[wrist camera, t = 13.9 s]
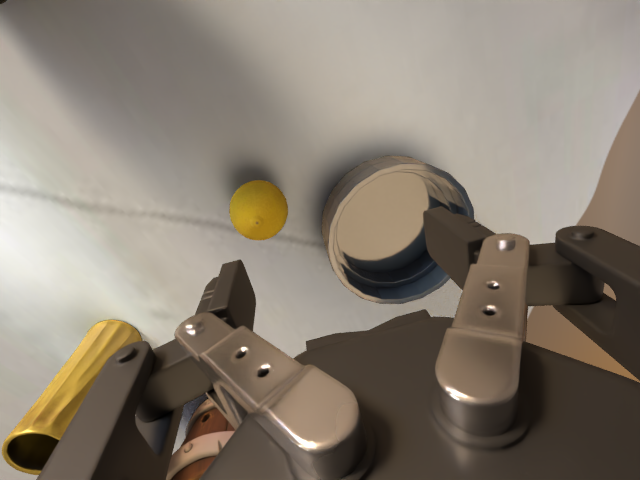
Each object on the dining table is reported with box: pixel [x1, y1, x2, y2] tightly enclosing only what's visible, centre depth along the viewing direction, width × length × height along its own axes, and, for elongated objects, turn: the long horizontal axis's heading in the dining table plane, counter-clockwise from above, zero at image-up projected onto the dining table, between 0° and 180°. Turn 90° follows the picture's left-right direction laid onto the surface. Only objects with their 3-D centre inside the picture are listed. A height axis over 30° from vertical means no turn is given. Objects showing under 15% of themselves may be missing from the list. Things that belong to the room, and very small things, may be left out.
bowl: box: [321, 156, 474, 304], centre depth 36 cm, size 15×15×6 cm
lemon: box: [229, 180, 288, 240], centre depth 32 cm, size 6×6×8 cm
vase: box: [2, 320, 142, 475], centre depth 34 cm, size 6×6×14 cm
